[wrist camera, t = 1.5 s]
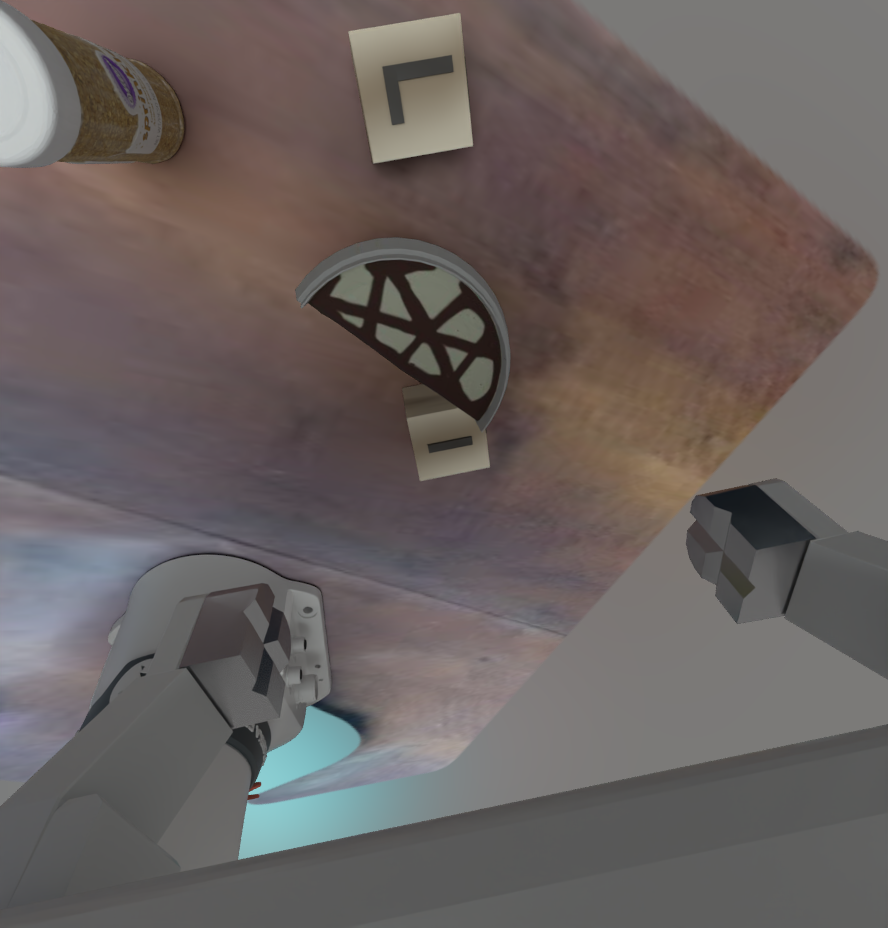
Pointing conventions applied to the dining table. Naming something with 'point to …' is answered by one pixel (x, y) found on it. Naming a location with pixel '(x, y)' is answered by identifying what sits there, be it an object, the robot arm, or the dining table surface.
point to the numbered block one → (442, 435)
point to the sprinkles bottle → (79, 101)
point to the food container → (419, 317)
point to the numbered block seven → (413, 87)
